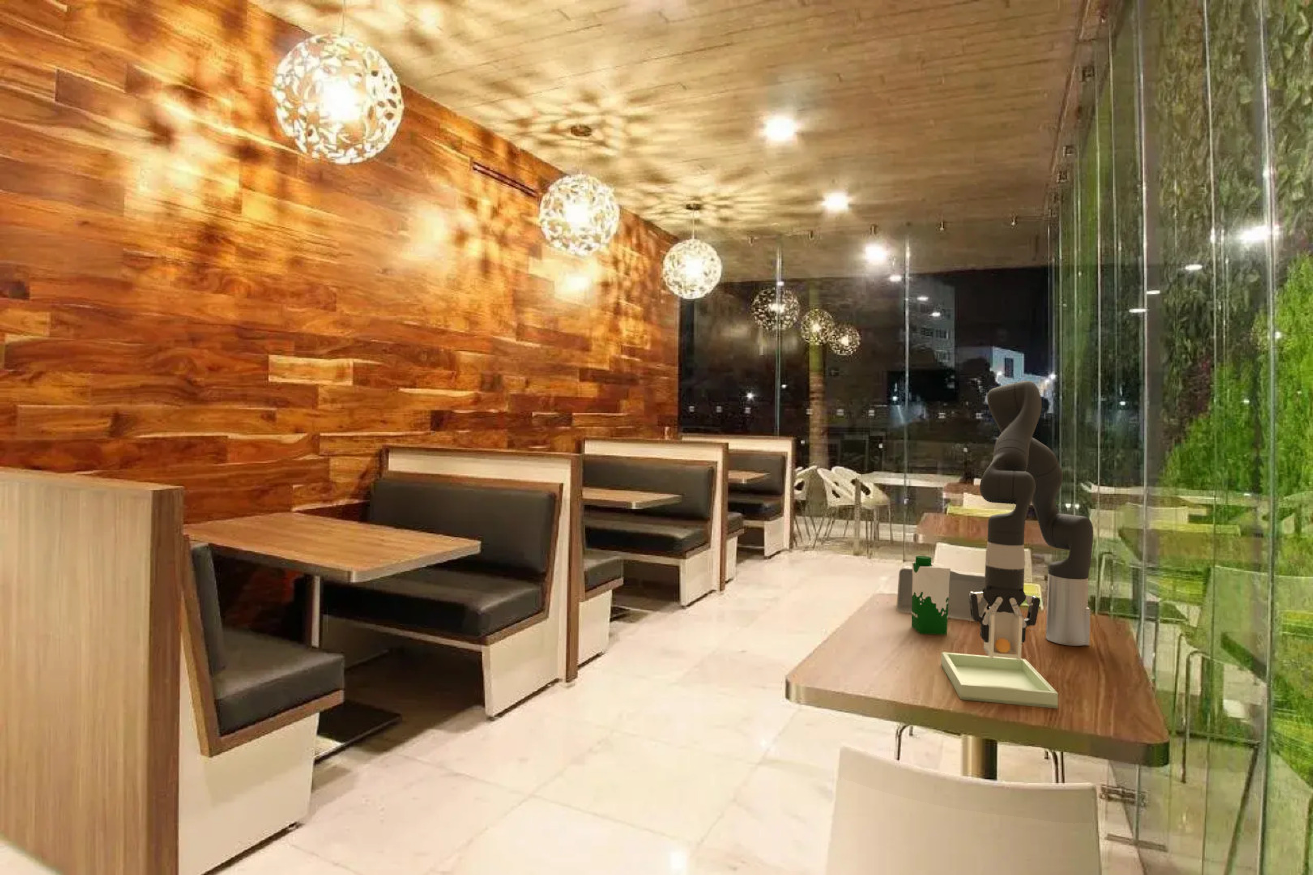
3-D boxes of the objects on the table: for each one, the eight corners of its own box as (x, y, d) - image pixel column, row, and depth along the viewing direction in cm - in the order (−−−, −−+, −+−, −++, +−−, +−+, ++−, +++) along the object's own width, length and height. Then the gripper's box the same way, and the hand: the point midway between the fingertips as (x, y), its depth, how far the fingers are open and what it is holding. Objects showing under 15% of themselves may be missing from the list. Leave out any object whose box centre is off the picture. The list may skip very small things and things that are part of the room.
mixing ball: (1012, 642, 156) (1010, 638, 153) (1009, 656, 155) (1007, 652, 153) (997, 638, 158) (995, 635, 155) (994, 652, 157) (992, 648, 154)
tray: (1025, 672, 166) (1025, 659, 166) (1057, 708, 145) (1058, 693, 145) (941, 664, 170) (941, 652, 170) (960, 699, 148) (961, 684, 148)
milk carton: (907, 625, 203) (909, 554, 203) (940, 626, 203) (942, 555, 203) (917, 634, 195) (920, 559, 194) (952, 635, 194) (954, 560, 194)
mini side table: (983, 649, 160) (984, 608, 160) (1013, 651, 158) (1014, 610, 158) (990, 658, 154) (991, 615, 154) (1021, 660, 153) (1022, 617, 152)
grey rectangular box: (988, 610, 223) (989, 570, 223) (987, 623, 209) (989, 579, 209) (902, 600, 234) (903, 561, 234) (896, 611, 219) (897, 570, 219)
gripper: (1036, 563, 158) (1033, 640, 158) (965, 559, 161) (962, 635, 161) (1047, 569, 151) (1044, 651, 151) (972, 565, 154) (970, 645, 154)
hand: (1002, 642), depth 156 cm, fingers closed on mini side table, 6 cm apart
